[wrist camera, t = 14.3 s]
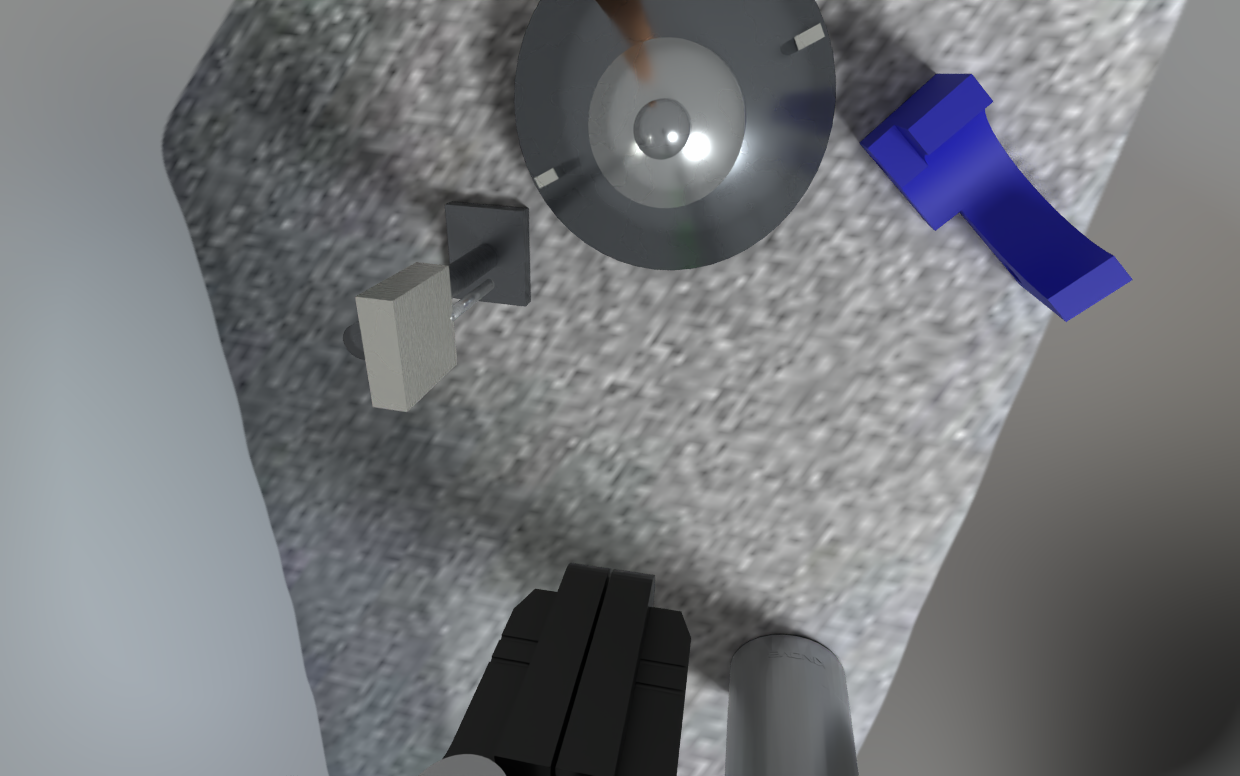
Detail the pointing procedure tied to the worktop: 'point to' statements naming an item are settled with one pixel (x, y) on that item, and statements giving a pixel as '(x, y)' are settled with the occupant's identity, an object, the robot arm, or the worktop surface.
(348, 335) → the grey stand with block
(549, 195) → the grey pot lid
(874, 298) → the worktop surface
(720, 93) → the cover
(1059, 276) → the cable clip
